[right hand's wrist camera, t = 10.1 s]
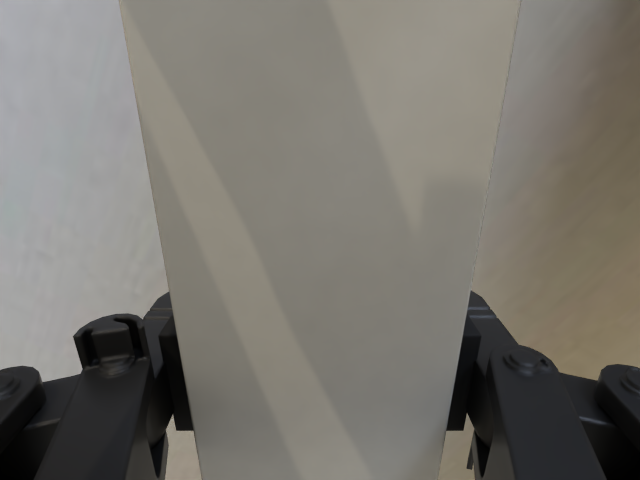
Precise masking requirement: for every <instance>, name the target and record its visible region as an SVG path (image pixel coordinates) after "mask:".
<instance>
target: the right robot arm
mask: <svg viewBox="0 0 640 480" xmlns="http://www.w3.org/2000/svg"><path fill="white" fill-rule="evenodd" d="M73 338H74V341H75V344H76V348H77V351H78V355H79V358H80V361H81V365H82V368H83V370H82V372H81V374H78V375H75V376H71V377H66V378H61V379H57V380H52V381H47V382H42V380H41V377H40V374H39V372H38V371H37V370H36V369H35V368H33V367H27V366H18V367H11V368H6V369H2V370H0V480H165V473H166V464H167V455H168V446H169V445H168V438H167V433H166V428H167V426H168V423H169V421H170V419H171V417H172V415H173V416H174V421H175V426H176V431H194V430H193V424H192V419H191V413H190V407H189V401H188V396H187V390H186V384H185V378H184V373H183V367H182V361H181V355H180V350H179V344H178V338H177V332H176V327H175V321H174V315H173V309H172V304H171V298H170V292H168V293H166V294H164V295H163V296H161V297H160V298H158V299H157V301H156V302H155V303H154V305H153V306H152V307H151V308H150V311H148V312H147V314H146V315H145V316H144V319H143V320H142V319H141V318H140V317H139V316H137V315H132V314H114V315H110V316H105V317H102V318H99V319H97V320H94V321H92V322H90V323H88V324H87V325H85V326H83V327H82V328H80V329H79V330H78V331H77V333H76V334H75V335H74V336H73ZM467 413H468V415H469V418H470V420H471V422H472V424H473V426H474V433H473V438H472V443H471V448H470V452H469V457H468V463H467V469H471V470H472V466H473V463H474V472H475V480H640V368H638V367H633V366H628V365H620V364H615V365H608V366H606V367H605V368H603V369H602V370H601V373H600V376H599V379H598V381H596V380H591V379H587V378H582V377H577V376H572V375H567V374H564V373H560V372H559V371H558V369H557V368H556V366H555V365H554V363H553V362H552V361H551V360H550V359H549V358H547V357H546V356H545V355H543V354H542V353H540V352H538V351H536V350H534V349H531V348H529V347H525V346H521V345H518V343H517V342H516V341H515V339H514V338H513V337H512V336H511V334H510V333H509V332H508V330H507V329H506V328H505V326H504V325H503V324H502V323H501V321H500V320H499V319H498V318H496V315H495V314H494V312H493V311H492V310H490V307H489V306H488V305H487V303H486V302H485V301H484V299H483V298H482V297H481V296H479V295H477V294H476V293H474V292H473V291H470V297H469V303H468V308H467V314H466V320H465V325H464V331H463V337H462V343H461V348H460V354H459V360H458V366H457V371H456V377H455V383H454V389H453V394H452V400H451V406H450V411H449V417H448V423H447V429H446V431H463V430H464V425H465V419H466V414H467Z"/></svg>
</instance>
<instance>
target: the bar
mask: <svg viewBox="0 0 640 480" xmlns="http://www.w3.org/2000/svg"><path fill="white" fill-rule="evenodd" d="M119 4H120V10H121V16H122V21H123V27H124V33H125V39H126V44H127V50H128V56H129V62H130V67H131V73H132V79H133V85H134V90H135V96H136V102H137V108H138V113H139V119H140V125H141V131H142V137H143V142H144V148H145V154H146V160H147V165H148V171H149V177H150V183H151V188H152V194H153V200H154V206H155V211H156V217H157V223H158V229H159V234H160V240H161V246H162V252H163V257H164V263H165V269H166V275H167V281H168V286H169V292H170V298H171V304H172V309H173V315H174V321H175V327H176V332H177V338H178V344H179V350H180V355H181V361H182V367H183V373H184V378H185V384H186V390H187V396H188V401H189V407H190V413H191V419H192V424H193V430H194V436H195V442H196V448H197V453H198V459H199V465H200V471H201V476H202V480H438V475H439V469H440V463H441V457H442V452H443V446H444V440H445V434H446V429H447V423H448V417H449V411H450V406H451V400H452V394H453V389H454V383H455V377H456V371H457V366H458V360H459V354H460V348H461V343H462V337H463V331H464V325H465V320H466V314H467V308H468V303H469V297H470V291H471V285H472V280H473V274H474V268H475V262H476V257H477V251H478V245H479V240H480V234H481V228H482V222H483V217H484V211H485V205H486V199H487V194H488V188H489V182H490V176H491V171H492V165H493V159H494V154H495V148H496V142H497V136H498V131H499V125H500V119H501V113H502V108H503V102H504V96H505V90H506V85H507V79H508V73H509V68H510V62H511V56H512V50H513V45H514V39H515V33H516V27H517V22H518V16H519V10H520V4H521V0H119Z"/></svg>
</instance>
